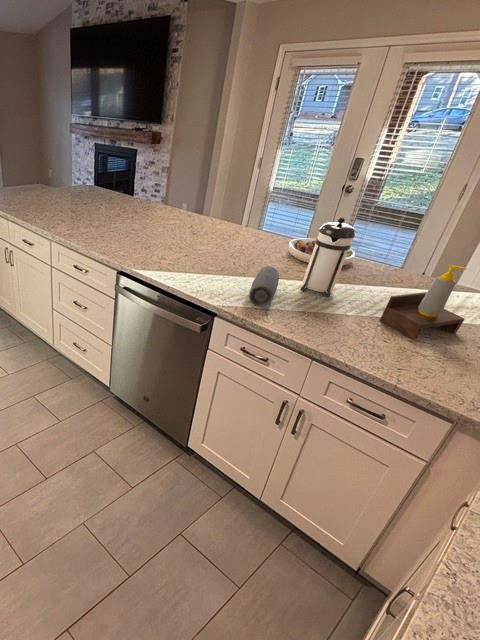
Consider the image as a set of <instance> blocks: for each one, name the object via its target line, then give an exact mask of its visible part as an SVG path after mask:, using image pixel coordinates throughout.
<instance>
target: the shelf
mask: <svg viewBox="0 0 480 640" xmlns="http://www.w3.org/2000/svg"><path fill="white" fill-rule="evenodd" d="M427 292H428V291H425V292H416V293H415V292H414V293H406V294H398V295H397V294H396V295H391V296H390V298H389V299H388V302H387V303H386V306H385V308H384V310H383V312H382V314H381V316H380V318H379V321H380V322H382V324H385V325H387V326H388V327H390V328H392V329H394V330H395V331H396V332H399V333H400V334H402V335H404V336H406V337H407V338H408V339H411V340H412V341H415V340H417V339H418V337H419V336H420V334H421V332H422V330H423V329H427V328H433V327H439V328H441V329H443V330H444V331H447V332H449V333H450V334H453V335H456V334H457V333H458V331H459V329H460V327H462V324H463V323H464V321H465V317H462V316H460V315H458V314H456V313H454V312H452V311H450V310H448V309H445V307H444V308H443V311H442V313H441V314H439V315H438V316H437V317H428V316H425V315H422V314H420V313H419V308H418V306H419V305H420V303H421V301H422V300H423V298H424V297H425V295H426V293H427Z"/></svg>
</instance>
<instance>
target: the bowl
mask: <svg viewBox="0 0 480 640" xmlns="http://www.w3.org/2000/svg"><path fill="white" fill-rule="evenodd" d="M316 239H317V238H295V239H292V240H291V241H289V243H288V246H287V247H288V251H289V253H290V255H291V256H293V257H294V258H296V259H297V260H299V261H300V262H301V261H302V262H303V263H307V264H309V261H310V258H311V256H312V253H313V250H314V247H315V244H316V243H315V242H316ZM355 256H356V253H355V250H353V249H351V248H350V249H349V250H348V253H347V255H346V258H345V261H344V263H343V266H346V265H348V264H350V263H352V261H353V260H354V259H355Z"/></svg>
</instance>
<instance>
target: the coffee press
mask: <svg viewBox="0 0 480 640" xmlns="http://www.w3.org/2000/svg"><path fill="white" fill-rule="evenodd" d="M345 221H346V219H345V217H339V219H337V222H332V221H331V222H327V223H324V224H323V225H322V226H320V227H319V229H318V235H317V237H316V238H315V239H316V242H315V243H316V244H315V247H314V250H313V253H312V256H311V258H310V261H309V263H307V267H306V270H305V274H304V276H303V279H302V284H303V285H302V286H301V287H300V289H299V290H300V291H301V292H303V293H305V292H306V291H307V290H311V291H313V292H314V291H315V292H318V293H319V292H320V293H323V294H324V297H325V298H330V297H331V291H332V290H334V288H335V286H336V283H337V281H338V278H339V276H340V273H341V270H342V268H343V266H344V265H343V263H344V261H345V258H346V255H347V253H348V250H349V249H351V247H352V243H353V240H354V239H355V238H356V230H355V228H354V227H352V226H351V225H349V224H346V223H345Z"/></svg>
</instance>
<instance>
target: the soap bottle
mask: <svg viewBox="0 0 480 640" xmlns="http://www.w3.org/2000/svg"><path fill="white" fill-rule="evenodd" d="M447 266H448V267H449V269H448V271H446V272H445V273H444V274H441V275H438V276H436V277H435V278H434V280H433V281H432V284H430V287H429V288H428V290H427V291H426V292H427V293H426V295H425V297H424V298H423V300H422V301H421V303H420V305H419V306H418V308H419V313H420V314H422V315H425V316H428V317H437V316H438V315H439V314H441V313H442V311H443V308H444V309H445V306H446V305H447V303H448V300H449V298H450V296H451V294H452V292H453V290H454V288H455V286H456V285H457V281H456V280H455V277H454V275H455V274H454V273H453V272H455V270H467V269H468V268H467V267H465V266H460V265H455V264H454V265H453V264H449V263H448V264H447Z"/></svg>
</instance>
